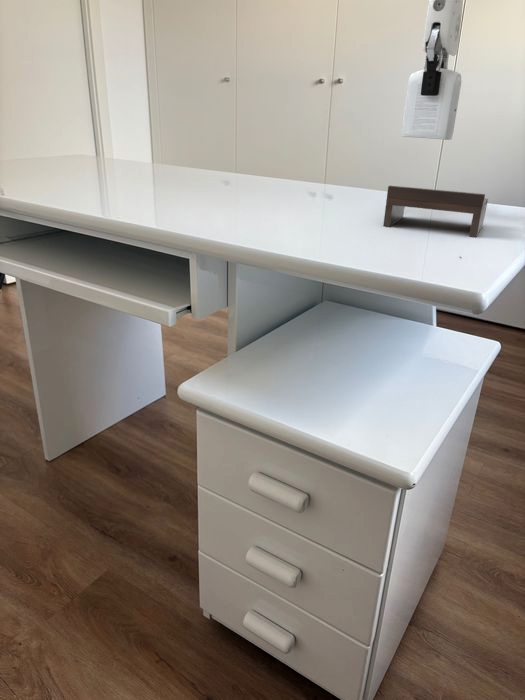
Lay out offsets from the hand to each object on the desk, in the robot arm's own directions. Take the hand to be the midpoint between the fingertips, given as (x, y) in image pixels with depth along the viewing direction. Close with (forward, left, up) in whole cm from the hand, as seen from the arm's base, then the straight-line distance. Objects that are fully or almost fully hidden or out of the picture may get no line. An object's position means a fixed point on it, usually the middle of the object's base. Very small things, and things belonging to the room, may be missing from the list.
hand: (432, 94), depth 103 cm
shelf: (+10, +11, -22) cm, 27 cm away
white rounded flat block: (0, 0, -8) cm, 8 cm away
